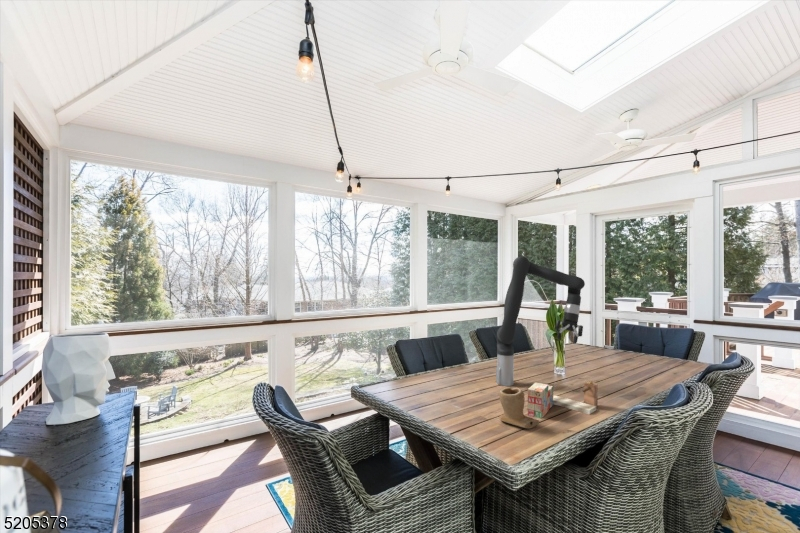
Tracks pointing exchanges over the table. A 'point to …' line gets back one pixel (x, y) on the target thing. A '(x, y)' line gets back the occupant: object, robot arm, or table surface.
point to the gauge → (591, 393)
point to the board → (573, 405)
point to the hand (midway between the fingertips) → (566, 341)
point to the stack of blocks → (539, 399)
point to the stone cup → (515, 408)
